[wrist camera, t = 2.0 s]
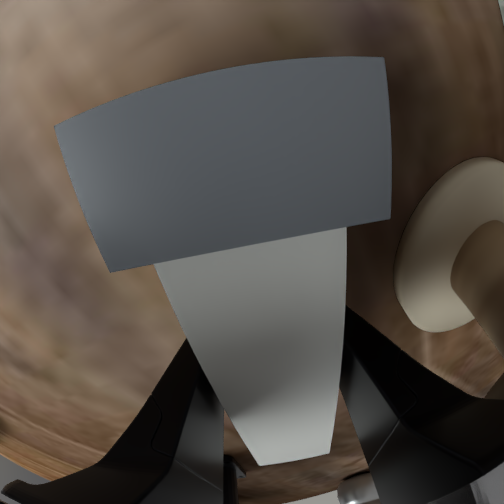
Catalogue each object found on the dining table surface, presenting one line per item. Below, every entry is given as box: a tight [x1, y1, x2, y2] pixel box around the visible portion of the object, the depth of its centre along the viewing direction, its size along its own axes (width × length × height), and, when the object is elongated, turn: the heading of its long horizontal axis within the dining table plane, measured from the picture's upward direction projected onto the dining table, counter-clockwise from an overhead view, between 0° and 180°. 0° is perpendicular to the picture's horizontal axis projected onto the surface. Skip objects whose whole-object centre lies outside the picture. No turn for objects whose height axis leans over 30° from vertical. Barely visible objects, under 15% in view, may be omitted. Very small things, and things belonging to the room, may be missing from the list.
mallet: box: [54, 56, 392, 466], centre depth 9 cm, size 14×4×4 cm, turn 10°
